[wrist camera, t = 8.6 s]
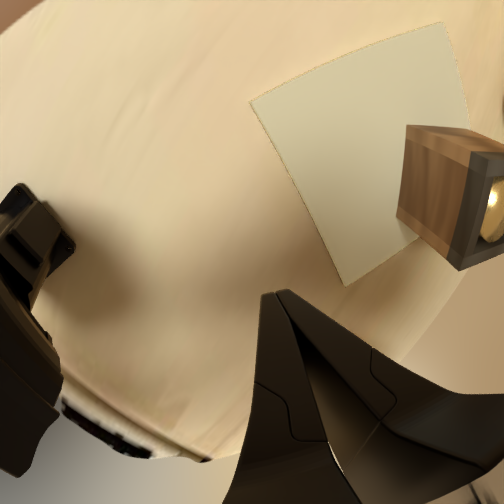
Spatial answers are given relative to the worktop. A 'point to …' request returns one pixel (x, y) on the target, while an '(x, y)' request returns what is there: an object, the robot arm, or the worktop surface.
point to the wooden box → (450, 190)
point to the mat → (362, 138)
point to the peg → (494, 212)
